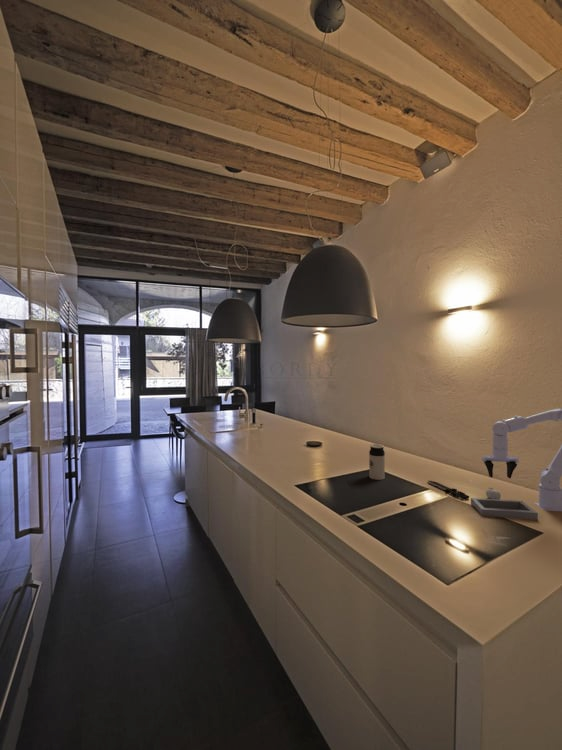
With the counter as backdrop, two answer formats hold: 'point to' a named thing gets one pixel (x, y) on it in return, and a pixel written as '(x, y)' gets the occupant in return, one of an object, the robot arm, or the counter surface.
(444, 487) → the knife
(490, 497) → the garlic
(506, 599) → the counter surface
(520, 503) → the tray
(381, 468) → the travel mug
